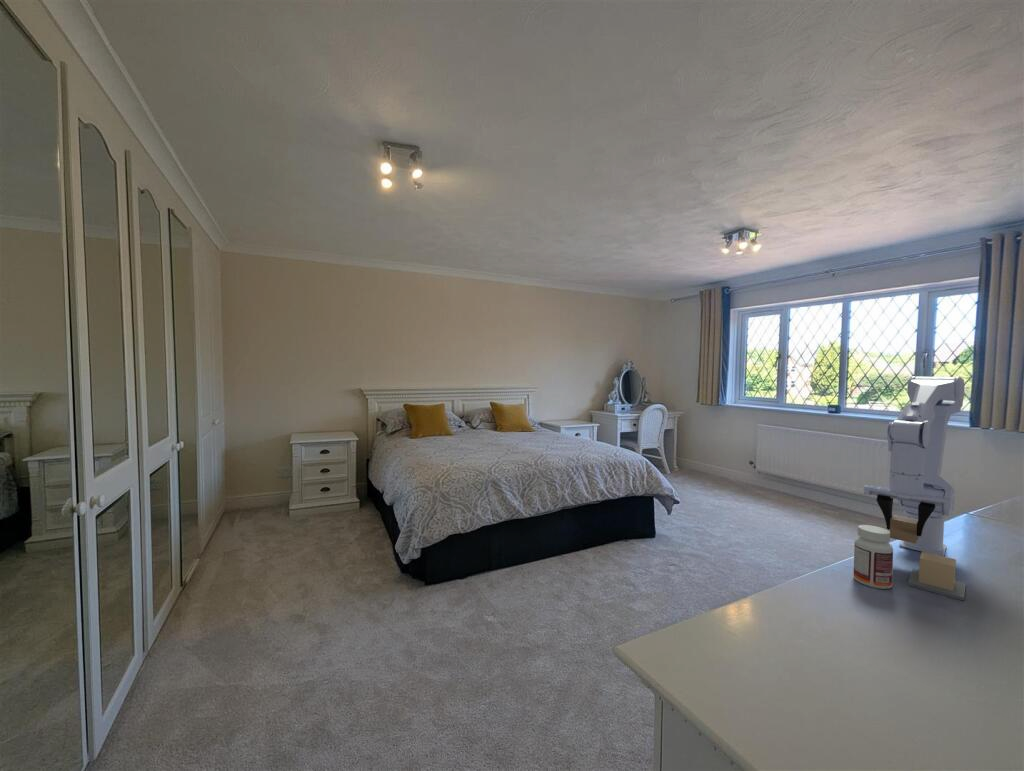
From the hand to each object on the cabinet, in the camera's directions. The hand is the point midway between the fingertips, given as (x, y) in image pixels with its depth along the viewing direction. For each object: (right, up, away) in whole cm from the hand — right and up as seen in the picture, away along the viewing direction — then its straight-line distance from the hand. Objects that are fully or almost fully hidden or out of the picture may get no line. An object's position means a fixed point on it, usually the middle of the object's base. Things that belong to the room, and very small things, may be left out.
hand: (904, 531), depth 97 cm
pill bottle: (-15, -8, -9) cm, 19 cm away
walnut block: (0, -2, 0) cm, 2 cm away
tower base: (-2, -8, -10) cm, 12 cm away
